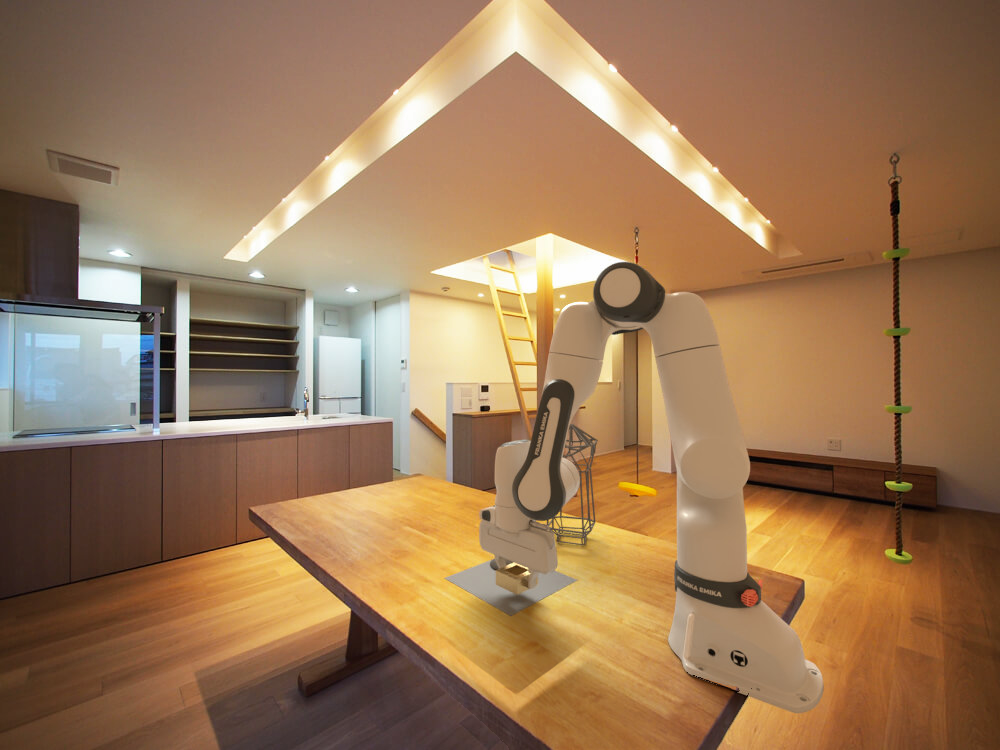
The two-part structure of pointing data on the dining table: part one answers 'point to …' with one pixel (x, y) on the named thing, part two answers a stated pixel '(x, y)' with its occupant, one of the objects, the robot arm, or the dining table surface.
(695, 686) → the dining table surface
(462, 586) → the post board
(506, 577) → the wooden collar
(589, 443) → the geometric lantern
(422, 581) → the dining table surface
